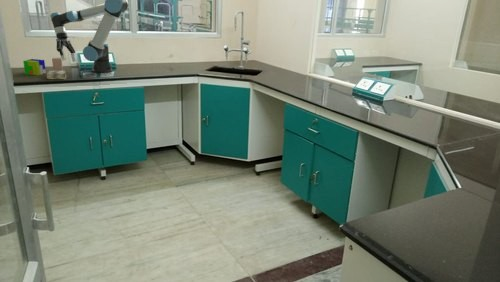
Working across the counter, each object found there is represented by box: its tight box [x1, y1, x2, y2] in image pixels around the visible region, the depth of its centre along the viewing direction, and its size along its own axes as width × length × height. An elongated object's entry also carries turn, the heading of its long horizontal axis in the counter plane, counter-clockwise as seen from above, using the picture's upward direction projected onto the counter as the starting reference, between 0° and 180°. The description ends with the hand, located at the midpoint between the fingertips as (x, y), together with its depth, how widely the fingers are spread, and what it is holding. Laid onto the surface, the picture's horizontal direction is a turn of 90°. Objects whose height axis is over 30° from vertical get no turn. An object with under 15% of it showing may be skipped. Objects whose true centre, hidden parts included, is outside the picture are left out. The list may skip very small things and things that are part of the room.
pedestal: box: [45, 70, 67, 80], centre depth 278 cm, size 12×12×5 cm
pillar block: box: [51, 57, 64, 71], centre depth 290 cm, size 6×6×12 cm
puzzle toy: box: [23, 58, 47, 76], centre depth 287 cm, size 10×10×10 cm
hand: (69, 60), depth 290 cm, fingers open, 13 cm apart
